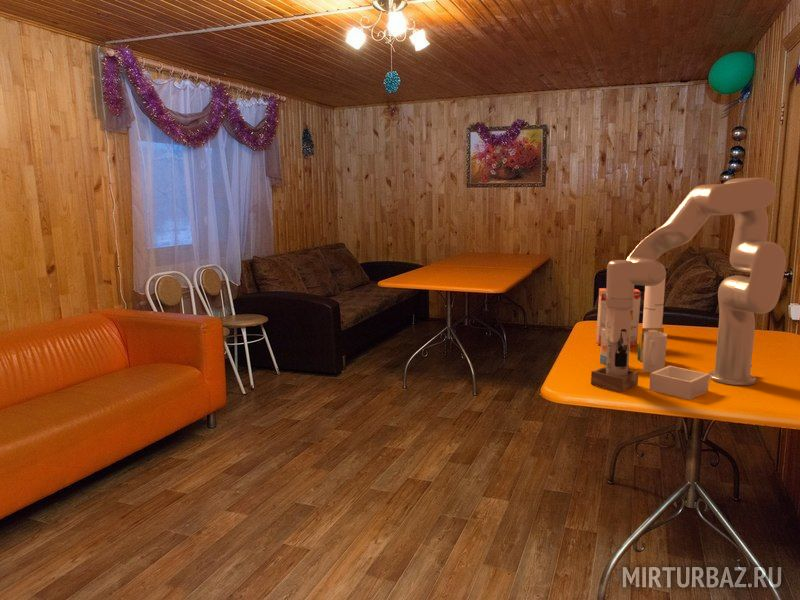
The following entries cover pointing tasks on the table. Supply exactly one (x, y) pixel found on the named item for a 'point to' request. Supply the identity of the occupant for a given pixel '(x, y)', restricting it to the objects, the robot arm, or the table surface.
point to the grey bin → (679, 382)
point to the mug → (654, 351)
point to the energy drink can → (610, 362)
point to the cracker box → (633, 313)
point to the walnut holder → (614, 380)
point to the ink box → (604, 348)
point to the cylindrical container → (653, 306)
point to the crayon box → (641, 341)
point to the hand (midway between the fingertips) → (617, 362)
